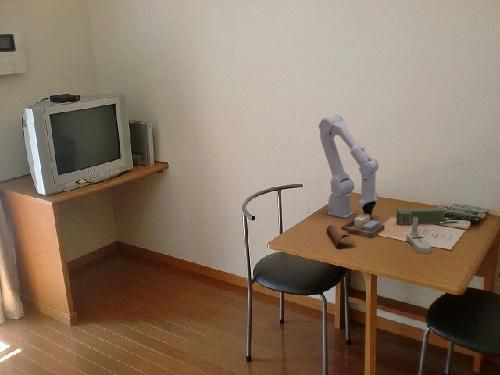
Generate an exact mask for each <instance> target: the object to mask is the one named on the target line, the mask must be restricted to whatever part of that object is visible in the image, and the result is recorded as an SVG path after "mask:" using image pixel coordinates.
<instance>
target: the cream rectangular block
mask: <svg viewBox="0 0 500 375" xmlns="http://www.w3.org/2000/svg"><path fill="white" fill-rule="evenodd" d="M353 219H354V225H353V227H355V228H357V227H359V226H360V225H362V224H363V223H365V222H366V221H367V222H370V221H371V218H370V214H364V212H363V213H360V214H359V215H358V216H356V217H355V218H353Z"/></svg>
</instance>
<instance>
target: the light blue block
mask: <svg viewBox="0 0 500 375" xmlns="http://www.w3.org/2000/svg"><path fill="white" fill-rule="evenodd" d="M380 223H381V221H377V220H374V219H372V220H371V219H370V222H368V223H366V224H365V225H363V226H362V230H364V231H369V232H372V231H374V230H375V229H377V228H378V227H379V226H381V224H380Z"/></svg>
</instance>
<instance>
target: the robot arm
mask: <svg viewBox="0 0 500 375" xmlns="http://www.w3.org/2000/svg"><path fill="white" fill-rule="evenodd" d="M318 128H319V138H320V139H319V140H320V142H321V145H322V148H323V151H324V154H325V157H326V160H327V162H328V163H327V164H328V166H329V170H330V172H331V175H332V177H331V179H330V180H329V181H330V182H329V183H330V186H331V187H330V190H331V194H330V195H329V197H328V213H327V215H329V216H334V217H339V218H345V219H347V218H348V217H350V216H351V215H353V214H355V211H352V210H351V209H352V203H351V201H352V192H353V191H354V189H355V183H354V181H353V180H352V178H351V177H350V175H349V173H347V172H345V170H344V166H343V163H342V161H341V157H340V155H339V151H338V149H337V148H338V147H337V145H336V141H335V136H339V137H340V138H341V140H343V142H344V143H345V144H346V145H347V147H348V149H350V151H349V153H350V155H351V156H352V158H353V159H354V160H355V162H356V163H357V165H358V166H359V167H358V170H359V173H360V174H361V175H360V176H361V196H360V198H359V201H358V202H357V203H358V204H357V206H358V207H361V209H362V211H363V213H364V214H370V219H371V218H372V215H373V214H372V213H373V211H374V208H375V206H376V204H377V201H378V198H379V197H378V196H379V193H376V180H377V179H376V178H377V176H376V174H377V171H378V170H379V163H378V161H377V160H376V159H375V158H372V157H371V156H370V155H369V153H368V152H367V151H366V148H365V147H364V146H363V145H361V144H358V143H357V142H356V140H355V138H354V137H353V135H352V134H351V132H350V130H349V129H348V128H347V123H346V121H345V120H344V119H343V117H342V116H341V115H339V114H336V115H332V116H329V117H323V118H322V119H321V120H320V121H319V124H318Z"/></svg>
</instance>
